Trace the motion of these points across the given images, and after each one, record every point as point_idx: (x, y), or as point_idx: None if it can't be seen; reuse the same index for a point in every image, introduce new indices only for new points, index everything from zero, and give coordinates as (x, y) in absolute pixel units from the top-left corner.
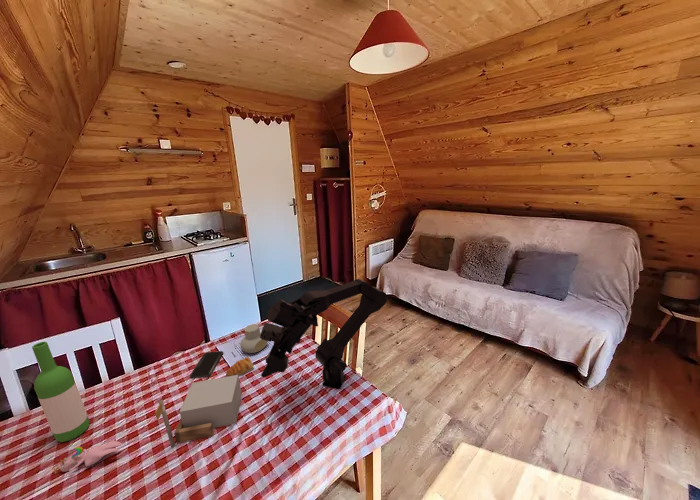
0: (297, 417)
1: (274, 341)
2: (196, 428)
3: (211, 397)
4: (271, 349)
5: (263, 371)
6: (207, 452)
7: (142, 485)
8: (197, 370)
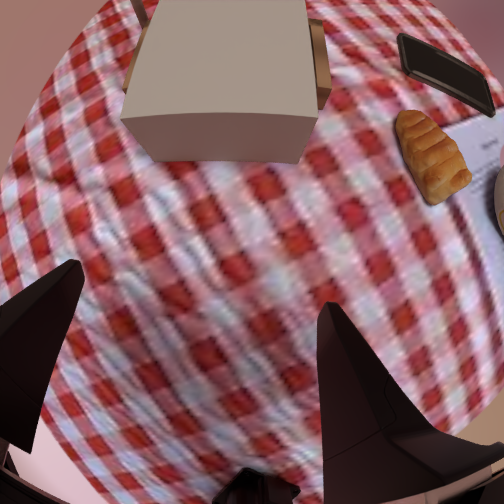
0: (118, 371)
1: (404, 462)
2: (133, 57)
3: (186, 42)
4: (359, 378)
5: (28, 286)
6: (91, 112)
7: (87, 35)
8: (424, 49)
